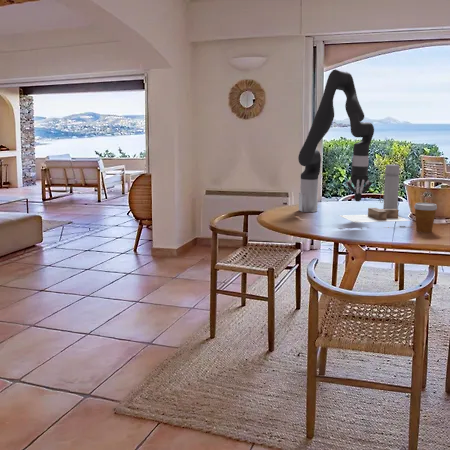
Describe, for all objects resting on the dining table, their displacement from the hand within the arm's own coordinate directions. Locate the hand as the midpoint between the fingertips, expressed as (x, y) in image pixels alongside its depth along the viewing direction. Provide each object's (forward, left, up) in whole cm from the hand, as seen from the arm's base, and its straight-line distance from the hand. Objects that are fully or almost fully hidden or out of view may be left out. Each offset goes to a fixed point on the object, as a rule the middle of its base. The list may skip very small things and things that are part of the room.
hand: (357, 201), depth 263 cm
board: (+9, 0, -10) cm, 13 cm away
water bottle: (+27, +21, -10) cm, 35 cm away
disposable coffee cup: (+19, -29, -10) cm, 36 cm away
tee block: (+14, 0, -8) cm, 17 cm away
